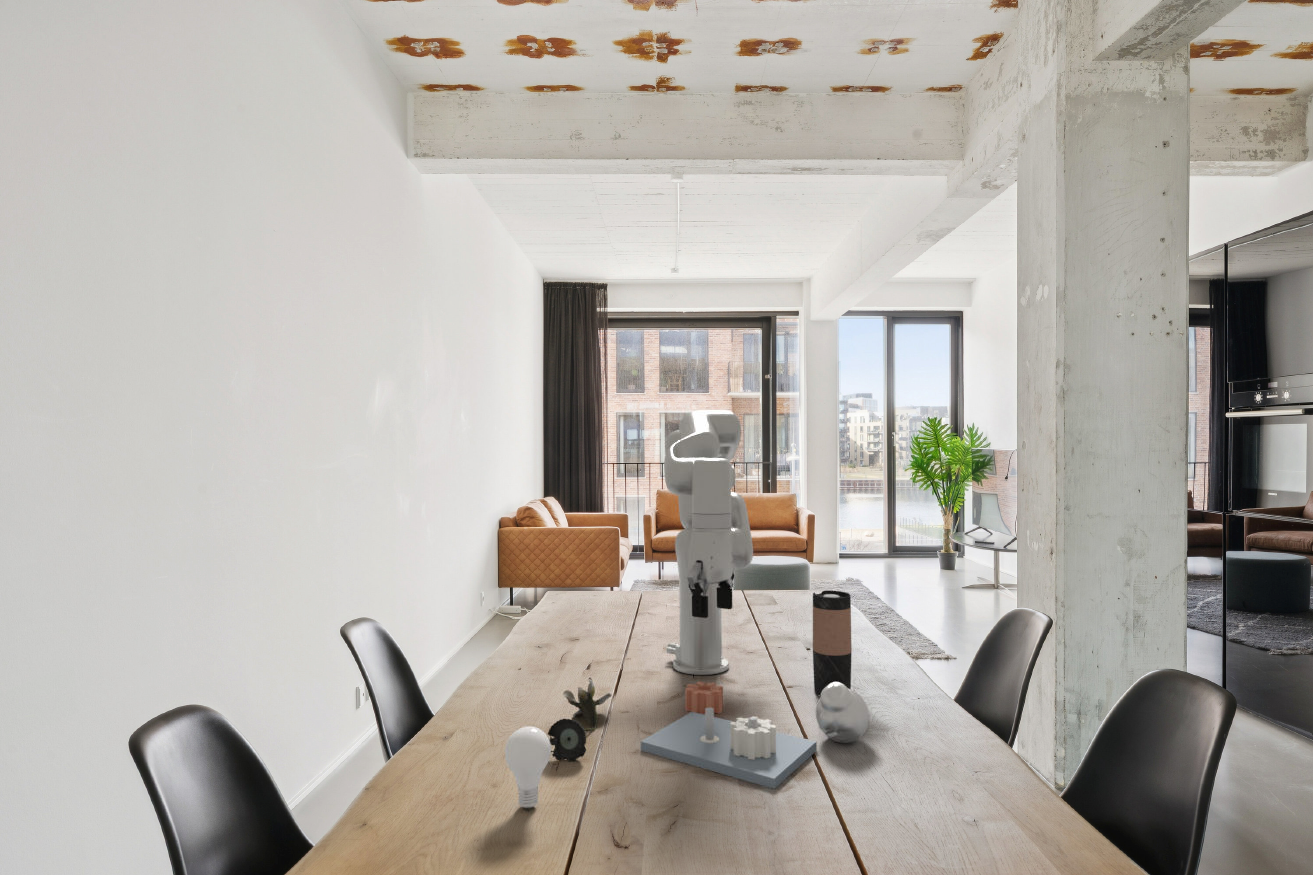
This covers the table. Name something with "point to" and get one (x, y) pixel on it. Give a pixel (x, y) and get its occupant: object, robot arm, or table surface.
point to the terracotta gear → (703, 697)
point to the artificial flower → (575, 725)
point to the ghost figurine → (842, 713)
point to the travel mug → (831, 639)
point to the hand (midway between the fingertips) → (712, 612)
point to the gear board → (726, 749)
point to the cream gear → (753, 738)
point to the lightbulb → (528, 761)
